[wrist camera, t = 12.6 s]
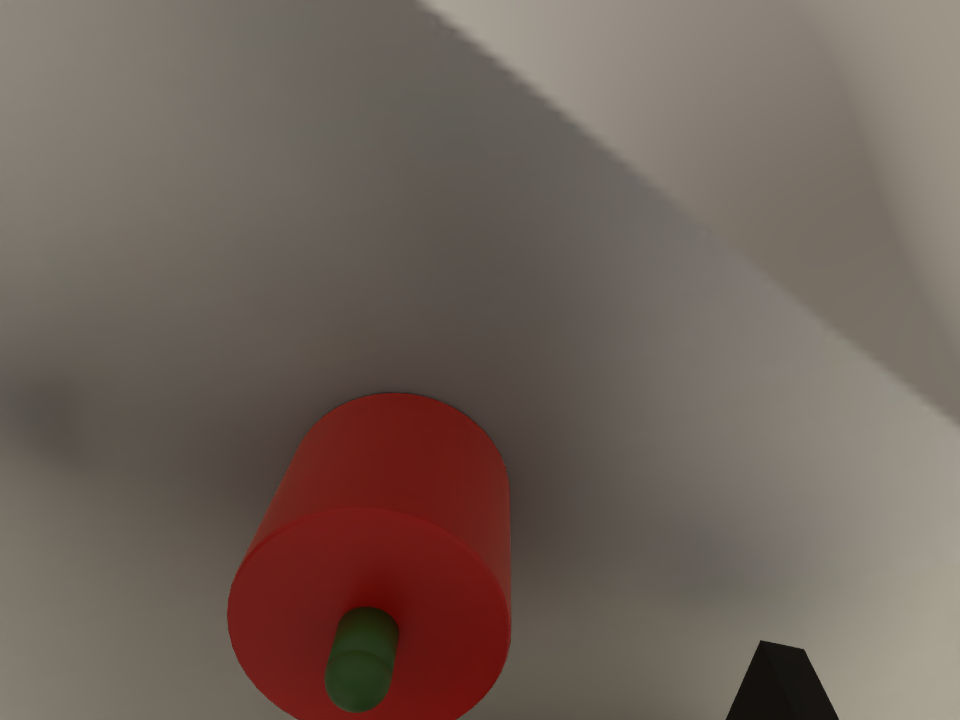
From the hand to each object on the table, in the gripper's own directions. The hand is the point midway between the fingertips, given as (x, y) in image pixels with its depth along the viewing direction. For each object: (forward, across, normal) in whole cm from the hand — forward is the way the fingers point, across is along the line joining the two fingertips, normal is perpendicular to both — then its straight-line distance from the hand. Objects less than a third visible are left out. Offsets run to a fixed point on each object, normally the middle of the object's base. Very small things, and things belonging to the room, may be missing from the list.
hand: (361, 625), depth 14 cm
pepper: (+4, 0, 0) cm, 4 cm away
